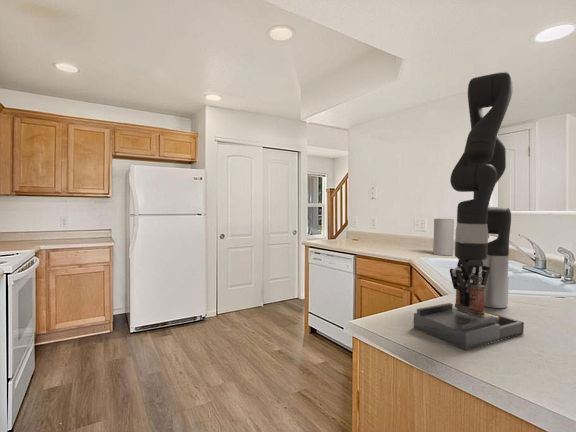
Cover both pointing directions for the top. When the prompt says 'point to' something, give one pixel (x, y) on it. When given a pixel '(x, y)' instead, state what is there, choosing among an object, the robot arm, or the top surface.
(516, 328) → the tray
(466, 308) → the lighter
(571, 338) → the top surface
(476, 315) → the chip
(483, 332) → the slot block
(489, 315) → the chip
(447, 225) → the cylinder vase
